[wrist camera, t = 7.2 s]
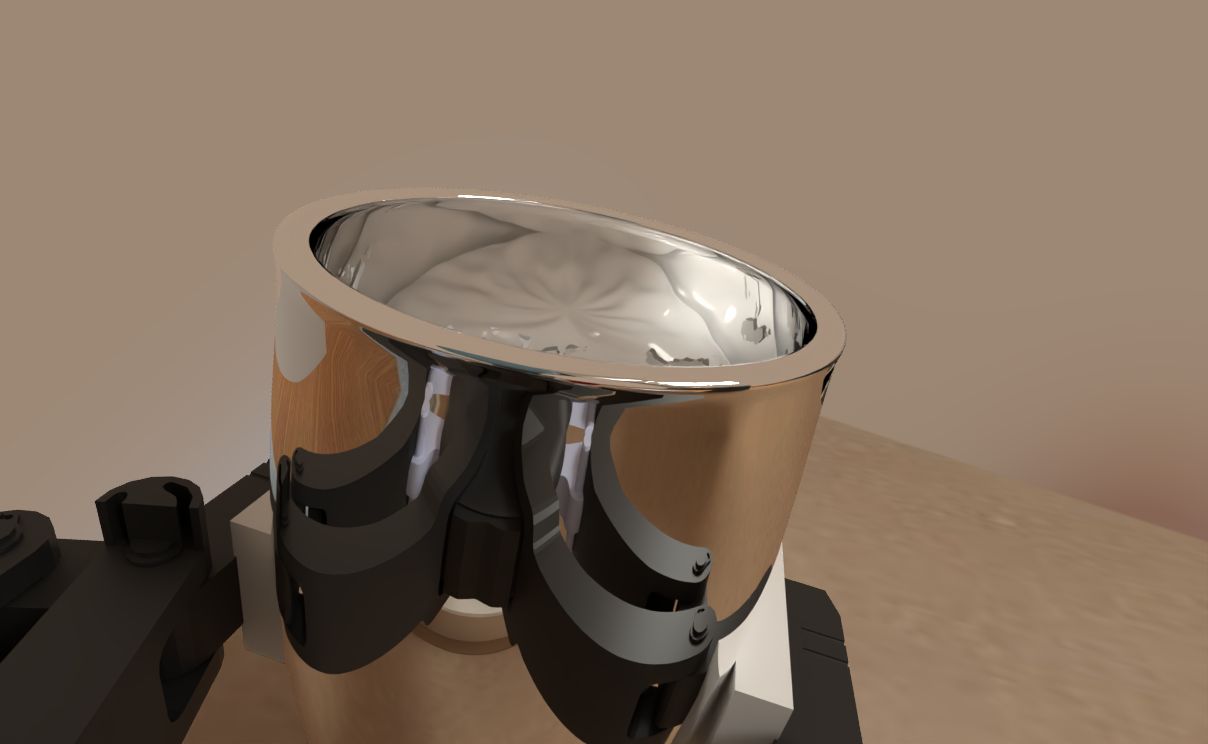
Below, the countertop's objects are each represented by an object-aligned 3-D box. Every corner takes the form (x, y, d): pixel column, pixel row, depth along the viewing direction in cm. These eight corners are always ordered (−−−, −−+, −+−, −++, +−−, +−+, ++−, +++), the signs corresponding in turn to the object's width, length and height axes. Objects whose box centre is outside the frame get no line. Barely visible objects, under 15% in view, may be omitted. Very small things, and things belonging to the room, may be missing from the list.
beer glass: (273, 818, 14) (205, 166, 8) (528, 689, 18) (627, 195, 12) (357, 1245, 9) (371, 487, 3) (678, 941, 13) (984, 345, 7)
